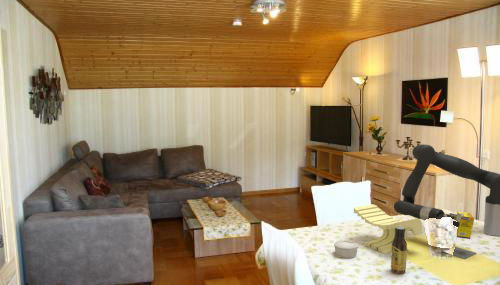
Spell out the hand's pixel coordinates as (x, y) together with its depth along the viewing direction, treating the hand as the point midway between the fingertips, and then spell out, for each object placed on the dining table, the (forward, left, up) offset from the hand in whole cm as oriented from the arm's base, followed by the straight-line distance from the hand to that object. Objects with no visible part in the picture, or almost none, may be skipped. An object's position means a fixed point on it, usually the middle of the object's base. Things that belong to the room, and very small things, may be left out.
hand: (463, 223), depth 197 cm
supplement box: (0, -1, -7) cm, 7 cm away
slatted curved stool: (+20, -29, -15) cm, 38 cm away
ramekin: (+44, -34, -16) cm, 58 cm away
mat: (0, -2, -15) cm, 15 cm away
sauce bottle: (+41, -7, -15) cm, 44 cm away
